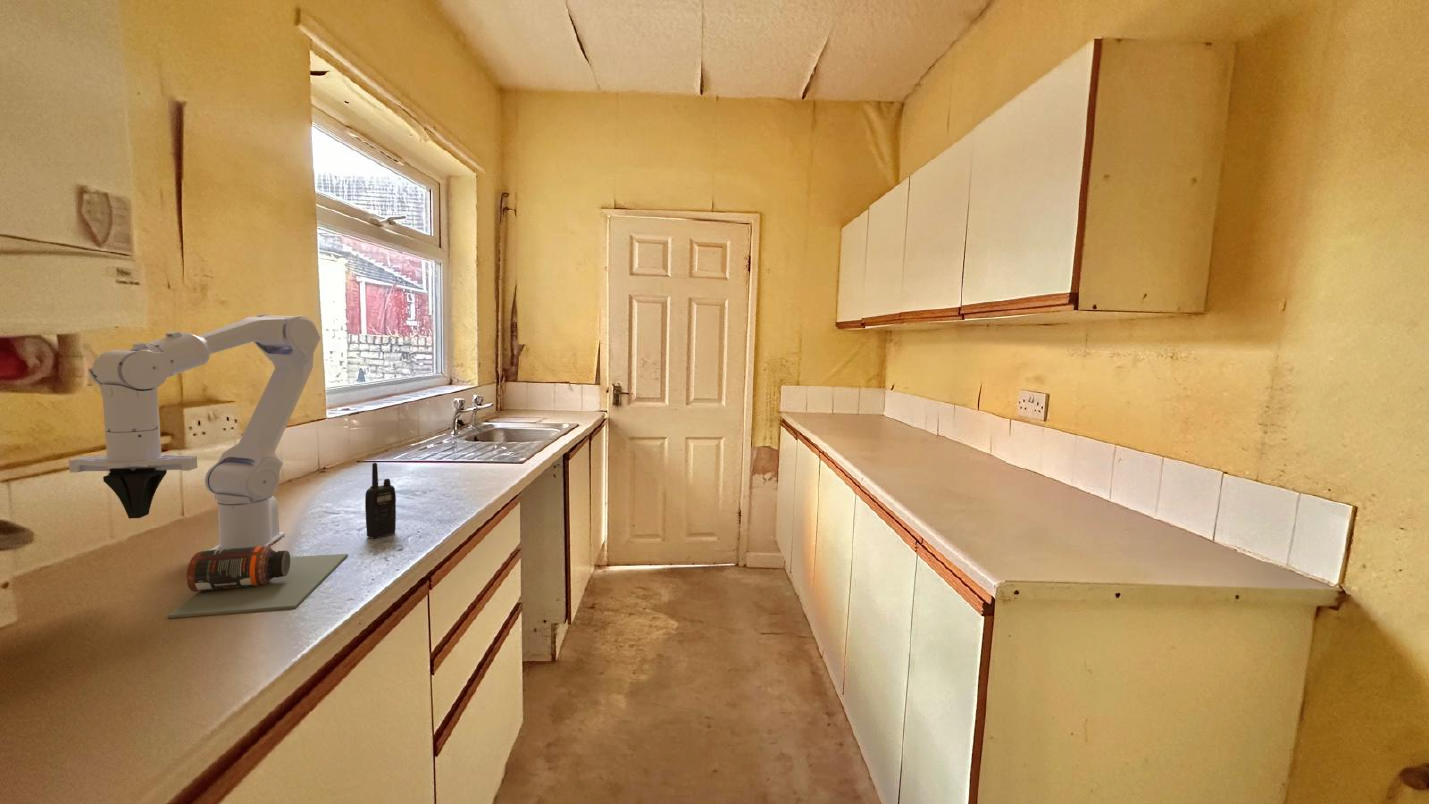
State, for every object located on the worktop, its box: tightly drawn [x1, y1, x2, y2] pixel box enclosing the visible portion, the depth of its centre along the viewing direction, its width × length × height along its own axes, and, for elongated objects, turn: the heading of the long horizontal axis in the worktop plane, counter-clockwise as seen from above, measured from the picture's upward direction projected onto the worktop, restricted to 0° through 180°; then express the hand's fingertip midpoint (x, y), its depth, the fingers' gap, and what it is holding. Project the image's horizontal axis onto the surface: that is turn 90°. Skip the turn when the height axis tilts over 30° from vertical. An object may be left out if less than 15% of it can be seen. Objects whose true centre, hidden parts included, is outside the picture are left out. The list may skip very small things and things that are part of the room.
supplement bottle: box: [186, 546, 291, 593], centre depth 84 cm, size 6×6×11 cm
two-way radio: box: [364, 462, 397, 539], centre depth 108 cm, size 6×4×15 cm
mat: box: [167, 553, 349, 619], centre depth 86 cm, size 20×15×1 cm
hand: (138, 516), depth 84 cm, fingers closed
